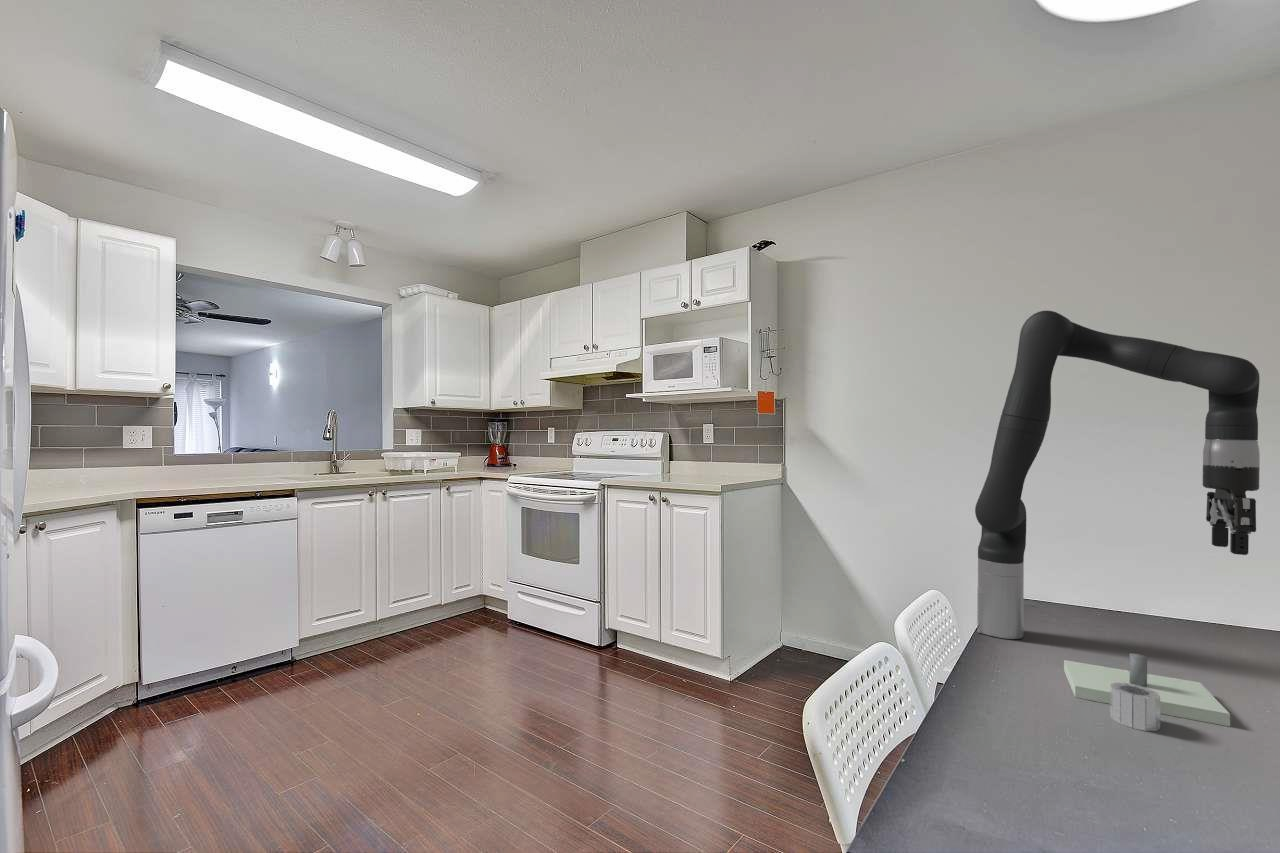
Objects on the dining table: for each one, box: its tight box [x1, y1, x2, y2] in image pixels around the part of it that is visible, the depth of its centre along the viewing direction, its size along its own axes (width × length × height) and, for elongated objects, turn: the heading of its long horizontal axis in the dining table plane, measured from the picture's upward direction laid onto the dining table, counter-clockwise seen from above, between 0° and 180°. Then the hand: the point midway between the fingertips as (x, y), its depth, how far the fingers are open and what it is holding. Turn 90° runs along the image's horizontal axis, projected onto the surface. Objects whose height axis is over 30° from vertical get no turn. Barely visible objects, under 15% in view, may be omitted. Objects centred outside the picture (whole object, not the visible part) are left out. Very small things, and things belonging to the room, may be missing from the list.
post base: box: [1063, 653, 1231, 727], centre depth 104 cm, size 20×14×7 cm
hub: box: [1109, 683, 1161, 732], centre depth 94 cm, size 6×6×5 cm
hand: (1229, 550), depth 110 cm, fingers open, 8 cm apart
